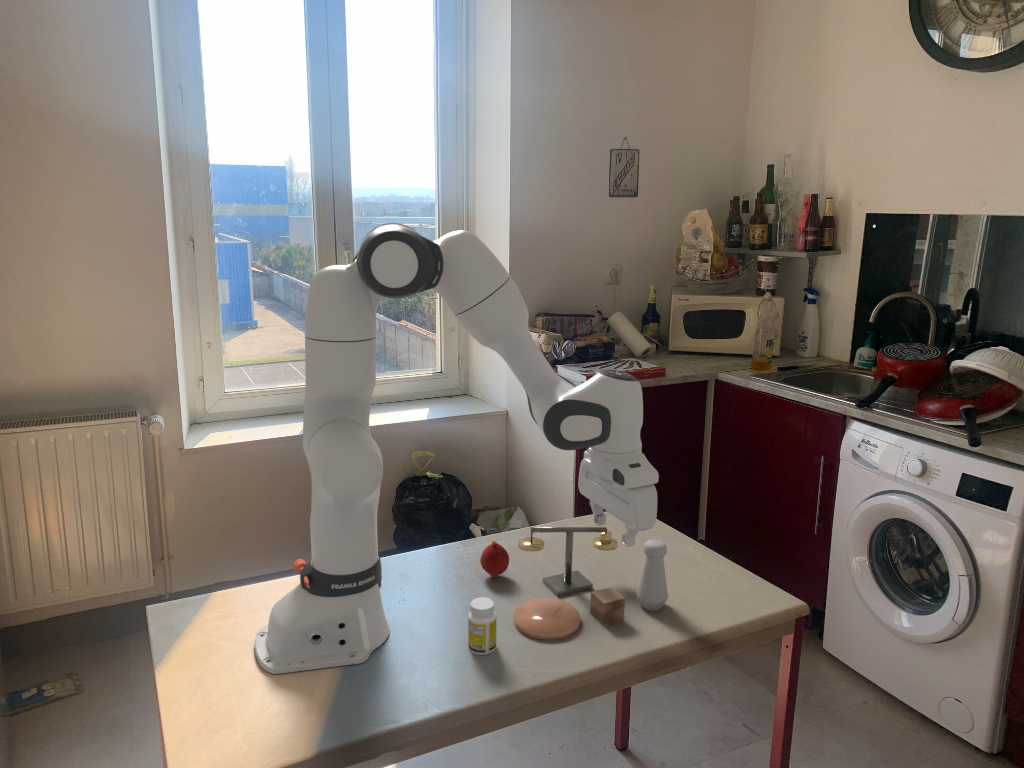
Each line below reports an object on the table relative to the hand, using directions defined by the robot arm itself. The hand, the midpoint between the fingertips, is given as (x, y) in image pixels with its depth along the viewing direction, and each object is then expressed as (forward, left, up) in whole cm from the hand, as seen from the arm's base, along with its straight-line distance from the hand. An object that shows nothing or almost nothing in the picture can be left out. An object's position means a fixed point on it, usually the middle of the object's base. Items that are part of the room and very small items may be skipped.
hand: (613, 533), depth 132 cm
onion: (-13, +22, -17) cm, 31 cm away
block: (0, 0, -17) cm, 17 cm away
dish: (-11, +3, -16) cm, 20 cm away
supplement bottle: (-25, 0, -17) cm, 30 cm away
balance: (-1, +13, -16) cm, 21 cm away
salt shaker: (+10, 0, -17) cm, 19 cm away
